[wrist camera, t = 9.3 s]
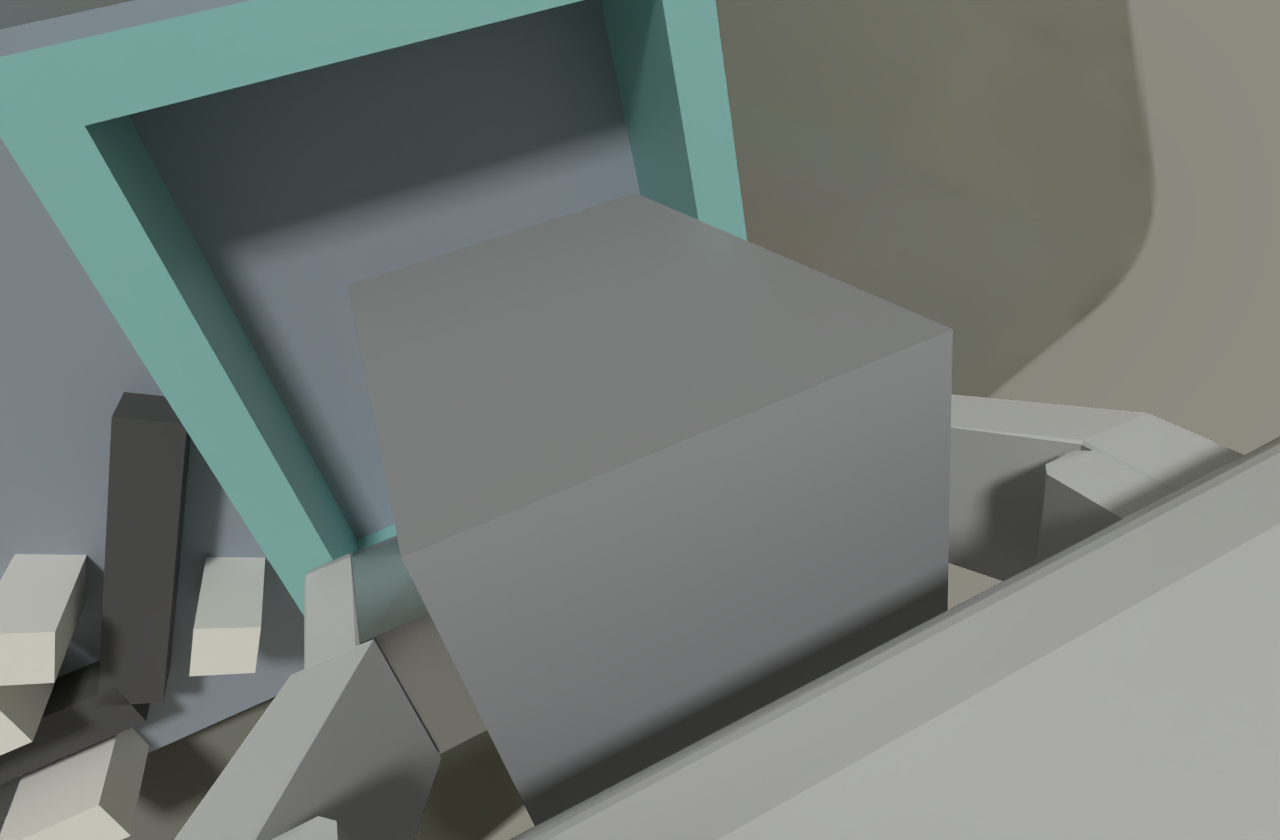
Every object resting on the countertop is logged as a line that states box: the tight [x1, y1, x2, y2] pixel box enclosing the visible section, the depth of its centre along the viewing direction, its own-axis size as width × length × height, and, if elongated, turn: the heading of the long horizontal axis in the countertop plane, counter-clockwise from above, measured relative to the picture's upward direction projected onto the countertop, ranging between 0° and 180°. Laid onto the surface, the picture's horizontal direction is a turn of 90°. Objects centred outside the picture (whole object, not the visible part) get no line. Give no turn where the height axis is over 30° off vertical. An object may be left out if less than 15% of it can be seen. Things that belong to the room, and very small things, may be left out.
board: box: [0, 0, 640, 840], centre depth 15 cm, size 15×21×4 cm
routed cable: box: [0, 392, 191, 785], centre depth 16 cm, size 4×10×1 cm, turn 142°
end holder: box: [0, 0, 747, 615], centre depth 15 cm, size 12×11×3 cm
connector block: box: [348, 193, 953, 826], centre depth 9 cm, size 6×4×6 cm
